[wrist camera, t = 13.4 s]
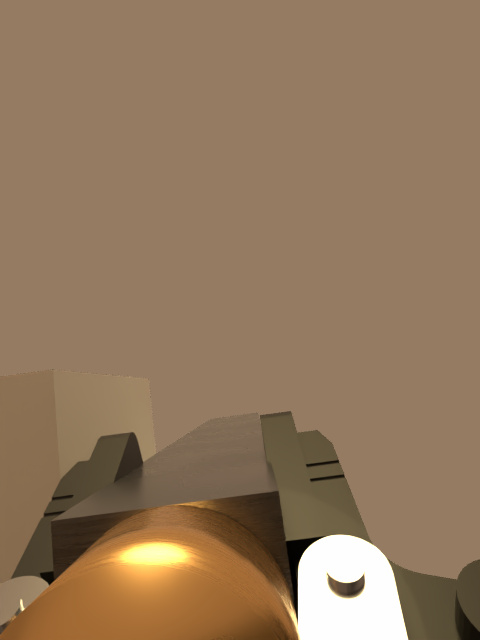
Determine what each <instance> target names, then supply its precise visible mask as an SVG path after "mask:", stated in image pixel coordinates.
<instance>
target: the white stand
mask: <svg viewBox="0 0 480 640" xmlns="http://www.w3.org/2000/svg"><path fill="white" fill-rule="evenodd" d="M129 432H134V433H135V435H136V437H137V440H138V444H139V448H140V452H141V456H142V460H143V462H144V461H146V460H147V459H149V458H150V457H152V456H153V455H155V454H156V446H155V436H154V427H153V416H152V406H151V396H150V387H149V379H148V378H137V377H126V376H117V375H106V374H95V373H85V372H75V371H65V370H54V369H52V370H45V371H38V372H31V373H23V374H16V375H9V376H2V377H0V584H1V583H3V582H5V581H7V580H10V579H11V577H12V575H13V573H14V571H15V569H16V567H17V565H18V563H19V561H20V559H21V557H22V555H23V553H24V551H25V549H26V547H27V545H28V543H29V541H30V539H31V537H32V535H33V533H34V531H35V529H36V527H37V525H38V523H39V521H40V519H41V518H43V517H44V514H43V513H44V511H45V510H46V508H47V506H48V504H49V502H50V501H52V496H53V494H54V492H55V490H56V488H57V486H58V484H59V482H60V480H61V478H62V477H63V476H64V475H65V474H66V473H67V472H68V471H69V470H70V469H71V468H72V467H73V466H74V465H75V464H76V463H77V462H79V461H87V460H89V459H90V457H91V455H92V452H93V450H94V448H95V446H96V443H97V441H98V439H99V438H100V437H101V436H106V435H114V434H121V433H129Z"/></svg>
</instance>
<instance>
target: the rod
mask: <svg viewBox="0 0 480 640" xmlns="http://www.w3.org/2000/svg"><path fill="white" fill-rule="evenodd" d="M51 534H52V553H53V571H54V582H53V583H52V584H51V585H49V586H48V587H47V588H46V589H45V590H44V591H43V592H42V593H41V594H40V595H39V596H38V597H37V598H36V599H35V600H34V601H33V602H32V603H31V604H30V605H28V606H27V607H26V608H25V609H24V610H23V611H22V612H21V613H20V614H19V615H18V616H17V617H16V618H15V619H14V620H13V621H12V622H11V623H10V624H9V625H8V626H7V628H6V629H5V630H4V631H3V632H2V633H1V634H0V640H301V638H300V633H299V628H298V623H297V618H296V611H295V604H294V597H293V590H292V583H291V575H290V568H289V561H288V554H287V547H286V539H285V532H284V525H283V518H282V511H281V504H280V496H279V490H278V486H277V483H276V479H275V475H274V471H273V468H272V464H271V462H267V459H266V454H265V449H264V443H263V435H262V428H261V423H260V419H259V416H258V413H252V414H245V415H237V416H230V417H223V418H215V419H210V420H208V421H207V422H205V423H204V424H202V425H201V426H199V427H197V428H196V429H194V430H193V431H191V432H190V433H188V434H186V435H185V436H183V437H182V438H180V439H179V440H177V441H175V442H174V443H172V444H171V445H169V446H168V447H166V448H165V449H163V450H162V451H160V452H158V453H157V454H155V455H153V456H152V457H150V458H149V459H147V460H146V461H144V462H143V464H142V465H140V466H139V467H137V468H135V469H134V470H132V471H131V472H129V473H128V474H126V475H125V476H123V477H122V478H120V479H119V480H117V481H116V482H114V483H109V484H108V485H106V486H105V487H103V488H102V489H100V490H98V491H97V492H95V493H94V494H92V495H91V496H89V497H87V498H86V499H84V500H83V501H81V502H80V503H78V504H76V505H75V506H73V507H72V508H70V509H69V510H67V511H65V512H64V513H62V514H61V515H59V516H58V517H56V518H54V519H53V520H51Z"/></svg>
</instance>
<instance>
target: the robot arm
mask: <svg viewBox="0 0 480 640" xmlns="http://www.w3.org/2000/svg"><path fill="white" fill-rule="evenodd" d="M260 420H261V428H262V435H263V443H264V449H265V454H266V459H267V462H271V464H272V468H273V471H274V475H275V479H276V483H277V486H278V490H279V496H280V504H281V511H282V518H283V525H284V532H285V539H286V547H287V554H288V561H289V568H290V575H291V583H292V590H293V597H294V604H295V611H296V618H297V623H298V628H299V633H300V638H301V640H480V560H477V561H473V562H472V563H470V564H468V565H467V566H466V567H464V568H463V569H462V571H461V572H460V574H459V576H458V579H457V580H456V579H450V578H444V577H438V576H432V575H426V574H421V573H417V572H413V571H410V570H407V569H404V568H402V567H400V566H398V565H396V564H395V563H393V562H392V561H390V560H388V559H387V558H386V557H385V556H384V555H383V554H382V553H381V552H380V551H379V550H378V549H377V548H376V547H375V546H374V545H373V543H372V542H371V540H370V538H369V536H368V534H367V531H366V528H365V526H364V523H363V521H362V518H361V516H360V513H359V511H358V508H357V506H356V503H355V500H354V498H353V495H352V493H351V490H350V488H349V485H348V483H347V480H346V478H345V476H344V472H343V470H342V467H341V465H340V463H339V460H338V457H337V454H336V452H335V449H334V447H333V444H332V443H331V442H330V441H329V440H328V439H327V438H326V437H324V436H323V435H322V434H321V433H320V432H319V431H318V430H315V431H308V432H301V433H297V431H296V427H295V424H294V420H293V417H292V413H291V412H290V411H289V412H281V413H274V414H266V415H260ZM142 464H143V460H142V456H141V452H140V448H139V444H138V440H137V437H136V435H135V433H134V432H129V433H121V434H114V435H106V436H101V437H100V438H99V439H98V441H97V443H96V446H95V448H94V450H93V452H92V455H91V457H90V459H89V460H87V461H79V462H77V463H76V464H75V465H74V466H73V467H72V468H71V469H70V470H69V471H68V472H67V473H66V474H65V475H64V476H63V477H62V478H61V480H60V482H59V484H58V486H57V488H56V490H55V492H54V494H53V496H52V501H50V502H49V504H48V506H47V508H46V510H45V511H44V513H43V514H44V517H43V518H41V519H40V521H39V523H38V525H37V527H36V529H35V531H34V533H33V535H32V537H31V539H30V541H29V543H28V545H27V547H26V549H25V551H24V553H23V555H22V557H21V559H20V561H19V563H18V565H17V567H16V569H15V571H14V573H13V575H12V577H11V579H10V580H7V581H5V582H3V583H1V584H0V634H1V633H2V632H3V631H4V630H5V629H6V628H7V626H8V625H9V624H10V623H11V622H12V621H13V620H14V619H15V618H16V617H17V616H18V615H19V614H20V613H21V612H22V611H23V610H24V609H25V608H26V607H27V606H28V605H30V604H31V603H32V602H33V601H34V600H35V599H36V598H37V597H38V596H39V595H40V594H41V593H42V592H43V591H44V590H45V589H46V588H47V587H48V586H49V585H51V584H52V583H53V582H54V571H53V553H52V534H51V520H53V519H54V518H56V517H58V516H59V515H61V514H62V513H64V512H65V511H67V510H69V509H70V508H72V507H73V506H75V505H76V504H78V503H80V502H81V501H83V500H84V499H86V498H87V497H89V496H91V495H92V494H94V493H95V492H97V491H98V490H100V489H102V488H103V487H105V486H106V485H108V484H109V483H114V482H116V481H117V480H119V479H120V478H122V477H123V476H125V475H126V474H128V473H129V472H131V471H132V470H134V469H135V468H137V467H139V466H140V465H142Z"/></svg>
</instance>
